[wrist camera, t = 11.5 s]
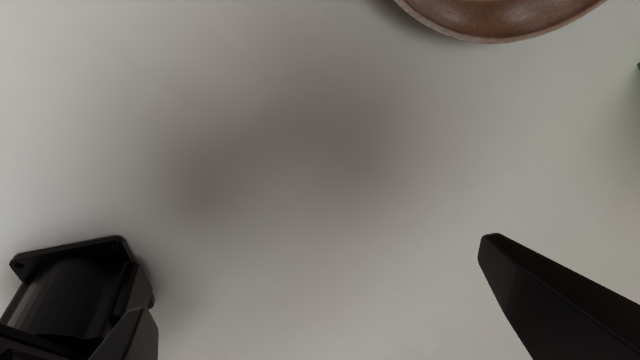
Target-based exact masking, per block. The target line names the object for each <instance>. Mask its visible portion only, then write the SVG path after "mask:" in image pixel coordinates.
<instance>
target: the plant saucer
mask: <svg viewBox="0 0 640 360" xmlns="http://www.w3.org/2000/svg"><path fill="white" fill-rule="evenodd" d="M394 1H395V2H396V3H397V4H398V5H399V6H400V7H401V8H402V9H403V10H405V11H406V12H407V13H408V14H409V15H411V16H412V17H413V18H415V19H416V20H417V21H419V22H421V23H422V24H424V25H426V26H427V27H429V28H431V29H433V30H435V31H437V32H439V33H441V34H444V35H447V36H449V37H453V38H456V39H460V40H464V41H468V42H475V43H488V44H495V43H509V42H515V41H521V40H526V39H531V38H534V37H537V36H540V35H543V34H546V33H549V32H552V31H554V30H557V29H559V28H561V27H563V26H565V25H567V24H570V23H571V22H573V21H575V20H577V19H579V18H581V17H582V16H584V15H586V14H587V13H589V12H590V11H592V10H594V9H595V8H597V7H598V6H600V5H601V4H603V3H604V2H606V1H607V0H394Z"/></svg>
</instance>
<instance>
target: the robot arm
mask: <svg viewBox="0 0 640 360" xmlns="http://www.w3.org/2000/svg"><path fill="white" fill-rule="evenodd" d="M113 244H117V245H118V246H115V245H113ZM19 262H21V263H19ZM478 262H479V265H480V267H481V269H482V271H483V273H484V275H485V277H486V279H487V281H488V283H489V285H490V287H491V289H492V291H493V293H494V295H495V297H496V299H497V301H498V303H499V305H500V307H501V309H502V311H503V313H504V314H505V316H506V318H507V319H508V321H509V323H510V324H511V326H512V327H513V329H514V330H515V332H516V334H517V335H518V337H519V338H520V340H521V341H522V343H523V345H524V346H525V348H526V349H527V351H528V352H529V354H530V355H531V357H532V359H533V360H640V305H639V304H637V303H635V302H633V301H631V300H629V299H627V298H625V297H623V296H621V295H619V294H618V293H616V292H614V291H612V290H610V289H608V288H606V287H604V286H602V285H600V284H598V283H596V282H594V281H592V280H590V279H588V278H586V277H584V276H582V275H580V274H578V273H576V272H574V271H572V270H570V269H568V268H566V267H564V266H563V265H561V264H559V263H557V262H555V261H553V260H551V259H549V258H547V257H545V256H543V255H541V254H539V253H537V252H535V251H533V250H531V249H529V248H527V247H525V246H523V245H521V244H519V243H517V242H515V241H513V240H511V239H509V238H508V237H506V236H504V235H502V234H499V233H491V234H487V235H484V236H483V237H482V238H481V242H480V247H479V252H478ZM22 263H23V264H22ZM9 265H10V267H11V268H12V270H13V271H14V272H15V273H16V275H17V276H18V277H19V279H20V280H21V281H22V282H23V283H22V284H21V286H20V288H19V289H18V291H17V292H16V294H15V296H14V297H13V299H12V301H11V302H10V304H9V305H8V307H7V309H6V310H5V312H4V313H3V315H2V317H1V318H0V360H158V337H159V333H158V327H157V325H156V323H155V321H154V319H153V318H152V316H151V314H150V312H149V310H148V309H150V308H152V307H153V306H154V302H155V299H154V297H153V295H152V287H151V285H150V283H149V281H148V280H147V278H146V276H145V274H144V272H143V270H142V268H141V266H140V264H138V263H137V262H135V260H134V258H133V256H132V254H131V252H130V250H129V248H128V246H127V244H126V242H125V241H124V239H122V238H121V237H117V236H115V237H108V238H103V239H98V240H93V241H87V242H82V243H77V244H72V245H66V246H61V247H56V248H50V249H45V250H40V251H35V252H29V253H24V254H19V255H16V256H14V257H13V258H12V260H11V261H10V264H9Z"/></svg>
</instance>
